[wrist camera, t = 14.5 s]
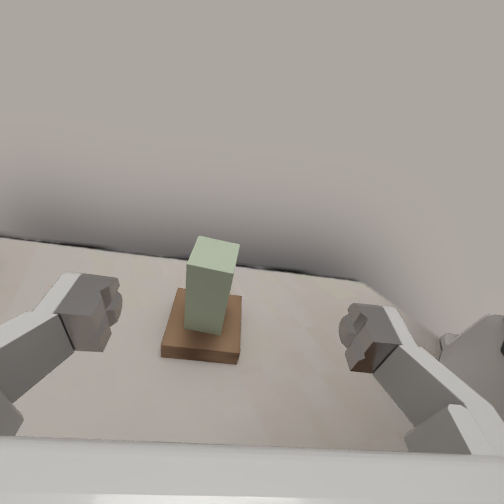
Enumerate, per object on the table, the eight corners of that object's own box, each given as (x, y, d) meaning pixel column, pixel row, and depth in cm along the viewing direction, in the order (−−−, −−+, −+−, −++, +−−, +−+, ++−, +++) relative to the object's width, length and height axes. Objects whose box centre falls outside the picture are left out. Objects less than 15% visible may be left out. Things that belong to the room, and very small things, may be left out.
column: (226, 306, 36) (239, 244, 29) (220, 335, 33) (233, 273, 25) (193, 299, 36) (198, 235, 29) (184, 328, 32) (186, 264, 25)
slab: (238, 309, 40) (241, 296, 38) (235, 366, 33) (239, 353, 31) (177, 302, 39) (178, 287, 37) (161, 359, 32) (161, 345, 30)
